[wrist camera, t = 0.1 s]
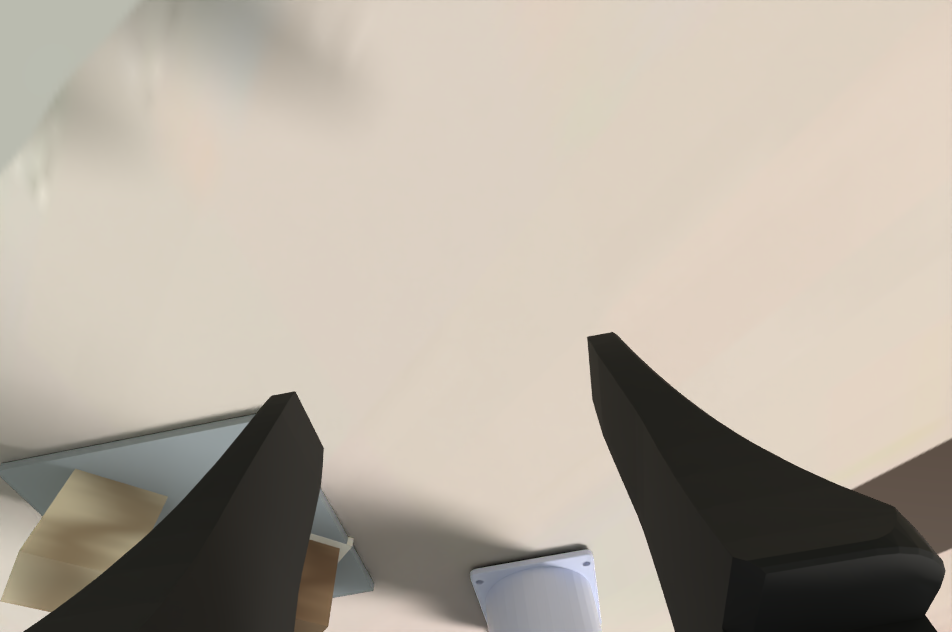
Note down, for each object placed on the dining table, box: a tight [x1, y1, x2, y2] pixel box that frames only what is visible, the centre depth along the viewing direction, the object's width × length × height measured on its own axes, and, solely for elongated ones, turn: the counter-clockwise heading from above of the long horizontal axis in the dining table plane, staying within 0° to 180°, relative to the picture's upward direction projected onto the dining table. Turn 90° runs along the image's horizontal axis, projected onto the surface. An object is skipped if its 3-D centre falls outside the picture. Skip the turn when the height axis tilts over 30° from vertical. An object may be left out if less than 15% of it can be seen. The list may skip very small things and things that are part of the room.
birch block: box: [1, 469, 168, 612], centre depth 27 cm, size 4×4×4 cm
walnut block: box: [294, 539, 340, 632], centre depth 31 cm, size 4×4×4 cm
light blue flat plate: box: [0, 414, 374, 598], centre depth 31 cm, size 16×15×1 cm
